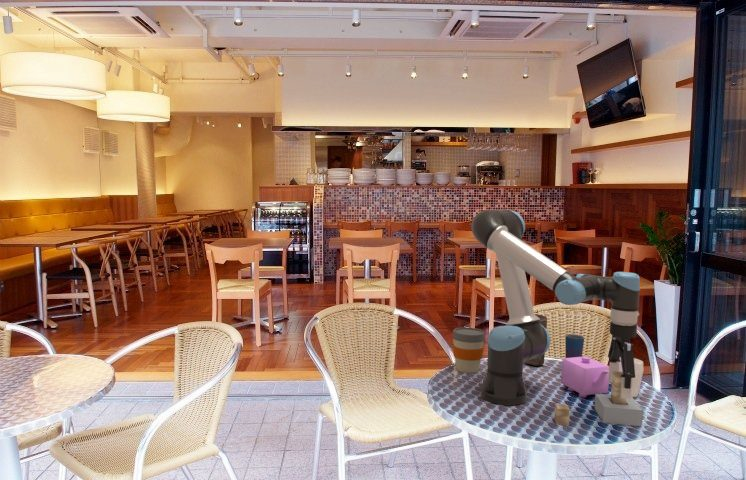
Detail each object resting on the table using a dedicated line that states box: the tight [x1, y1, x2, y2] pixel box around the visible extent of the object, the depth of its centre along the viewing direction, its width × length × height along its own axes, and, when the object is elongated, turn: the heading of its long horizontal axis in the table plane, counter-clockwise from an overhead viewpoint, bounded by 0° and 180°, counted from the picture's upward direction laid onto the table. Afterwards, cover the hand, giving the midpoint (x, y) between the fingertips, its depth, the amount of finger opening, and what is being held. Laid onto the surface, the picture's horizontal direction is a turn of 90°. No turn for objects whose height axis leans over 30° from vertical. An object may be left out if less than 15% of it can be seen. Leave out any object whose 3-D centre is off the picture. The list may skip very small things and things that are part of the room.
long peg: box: [610, 371, 626, 405], centre depth 167 cm, size 4×4×14 cm
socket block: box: [594, 393, 644, 427], centre depth 168 cm, size 11×11×5 cm
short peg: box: [554, 403, 571, 426], centre depth 163 cm, size 4×4×5 cm
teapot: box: [560, 355, 610, 399], centre depth 187 cm, size 20×10×12 cm, turn 19°
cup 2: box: [616, 357, 644, 398], centre depth 187 cm, size 9×9×12 cm
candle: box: [524, 313, 548, 367], centre depth 217 cm, size 8×7×20 cm
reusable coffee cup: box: [451, 326, 486, 374], centre depth 210 cm, size 13×13×15 cm
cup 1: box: [564, 333, 585, 358], centre depth 207 cm, size 7×7×15 cm
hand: (619, 390), depth 167 cm, fingers open, 13 cm apart
